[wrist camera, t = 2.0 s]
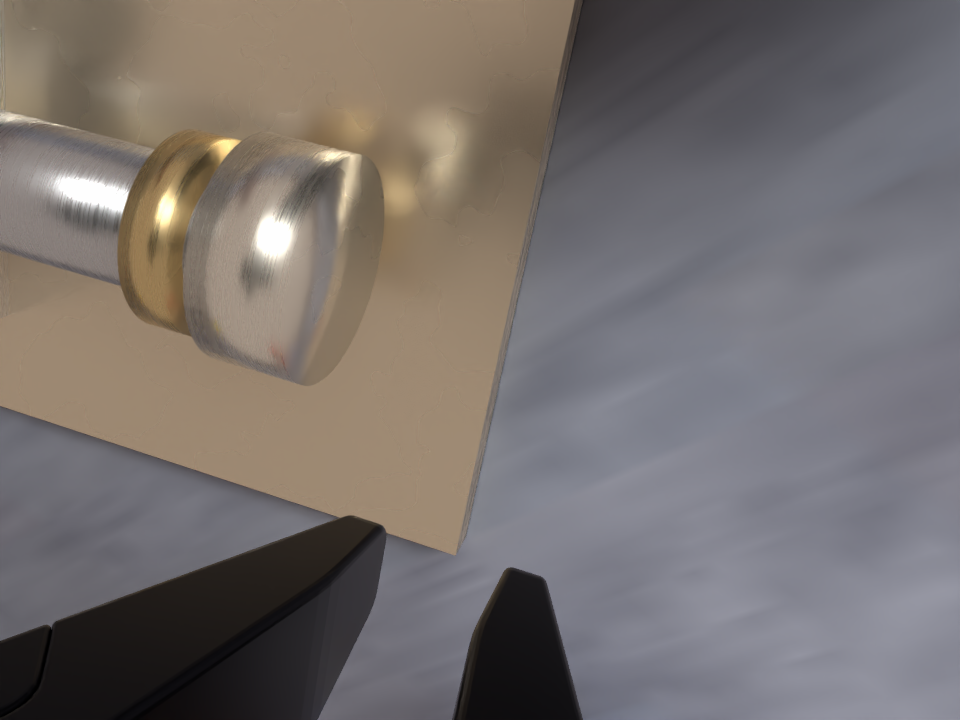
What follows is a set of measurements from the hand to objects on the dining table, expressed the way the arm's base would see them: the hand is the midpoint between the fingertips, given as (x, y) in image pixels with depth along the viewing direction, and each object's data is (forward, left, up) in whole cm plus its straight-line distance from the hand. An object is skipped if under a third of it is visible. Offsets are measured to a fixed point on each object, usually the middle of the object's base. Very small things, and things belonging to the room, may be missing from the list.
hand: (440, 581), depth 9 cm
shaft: (+12, 0, -11) cm, 16 cm away
